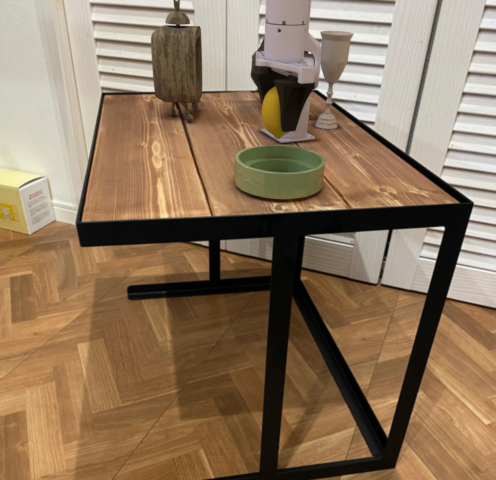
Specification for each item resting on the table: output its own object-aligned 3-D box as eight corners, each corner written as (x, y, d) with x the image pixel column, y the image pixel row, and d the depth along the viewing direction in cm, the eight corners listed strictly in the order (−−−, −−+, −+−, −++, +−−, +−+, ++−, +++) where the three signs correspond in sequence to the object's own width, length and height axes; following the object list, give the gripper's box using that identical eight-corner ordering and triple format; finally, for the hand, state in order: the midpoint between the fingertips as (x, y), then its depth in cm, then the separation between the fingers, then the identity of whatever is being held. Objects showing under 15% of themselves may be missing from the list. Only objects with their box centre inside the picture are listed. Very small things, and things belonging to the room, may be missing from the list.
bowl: (221, 176, 86) (221, 149, 83) (295, 167, 91) (297, 141, 88) (257, 208, 75) (259, 178, 73) (338, 195, 80) (342, 167, 78)
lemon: (274, 132, 83) (277, 78, 78) (302, 139, 80) (307, 83, 75) (253, 139, 79) (255, 82, 74) (281, 146, 76) (285, 89, 72)
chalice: (340, 131, 110) (353, 36, 99) (309, 128, 111) (318, 34, 100) (342, 122, 116) (354, 31, 105) (312, 120, 117) (321, 30, 106)
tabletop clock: (197, 125, 111) (192, -13, 96) (155, 123, 111) (145, -15, 96) (203, 109, 123) (200, -17, 108) (165, 107, 123) (157, -18, 108)
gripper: (238, 18, 74) (236, 116, 82) (284, 30, 64) (277, 141, 72) (281, 17, 77) (275, 112, 85) (332, 29, 66) (320, 136, 74)
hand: (279, 125), depth 78 cm, fingers closed on lemon, 5 cm apart
